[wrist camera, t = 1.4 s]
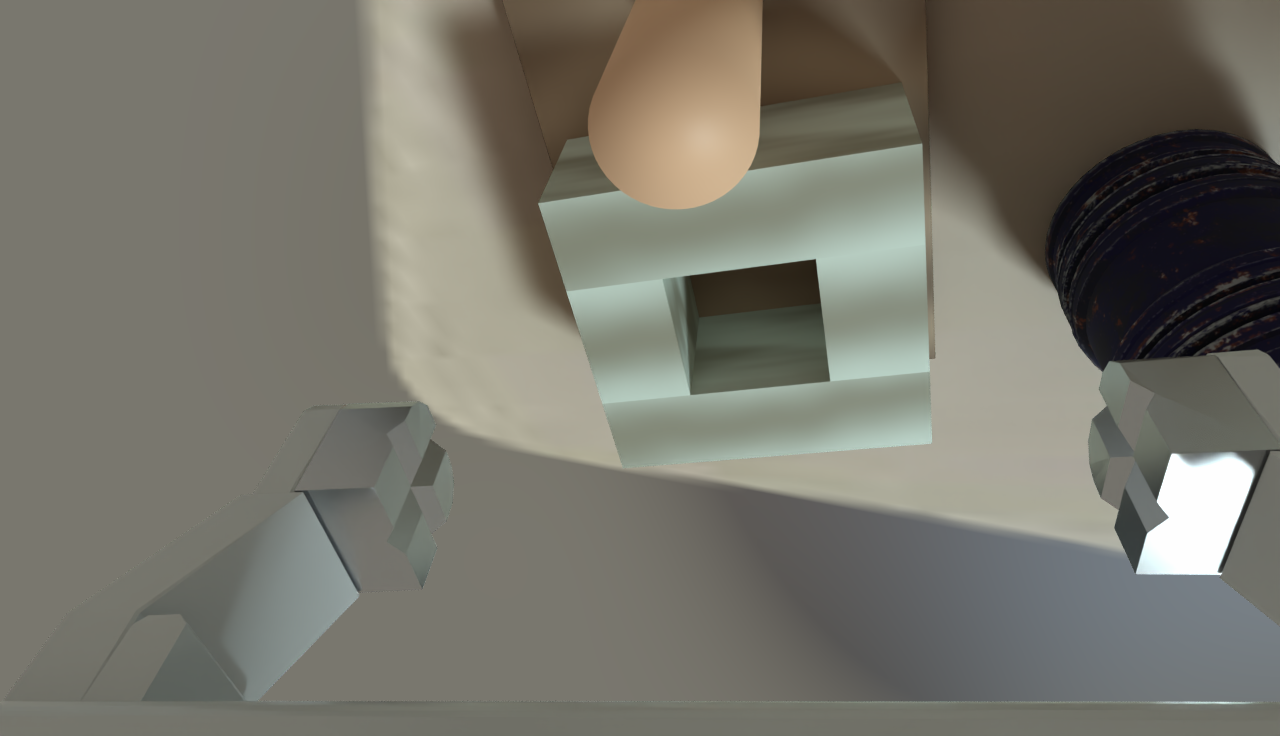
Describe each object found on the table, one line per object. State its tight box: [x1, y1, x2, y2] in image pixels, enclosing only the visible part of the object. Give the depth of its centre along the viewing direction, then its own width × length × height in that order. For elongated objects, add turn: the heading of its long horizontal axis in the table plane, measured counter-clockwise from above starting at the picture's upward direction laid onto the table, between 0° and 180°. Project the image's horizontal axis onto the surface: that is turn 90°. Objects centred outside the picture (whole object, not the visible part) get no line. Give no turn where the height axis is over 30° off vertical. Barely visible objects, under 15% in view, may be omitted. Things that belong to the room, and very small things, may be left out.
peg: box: [588, 0, 763, 209], centre depth 28 cm, size 4×4×14 cm
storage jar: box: [1045, 129, 1280, 372], centre depth 33 cm, size 10×10×15 cm
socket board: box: [502, 0, 935, 468], centre depth 35 cm, size 24×16×8 cm, turn 13°
